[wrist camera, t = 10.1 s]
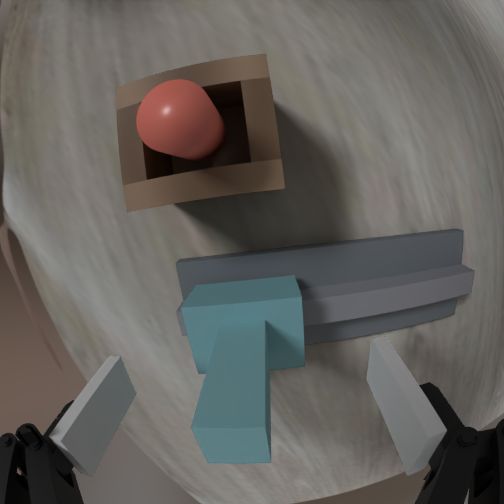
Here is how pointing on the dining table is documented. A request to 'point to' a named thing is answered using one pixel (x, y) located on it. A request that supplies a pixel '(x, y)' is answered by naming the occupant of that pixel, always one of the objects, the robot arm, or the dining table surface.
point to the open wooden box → (231, 153)
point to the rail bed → (352, 281)
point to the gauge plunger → (181, 121)
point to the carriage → (241, 361)
